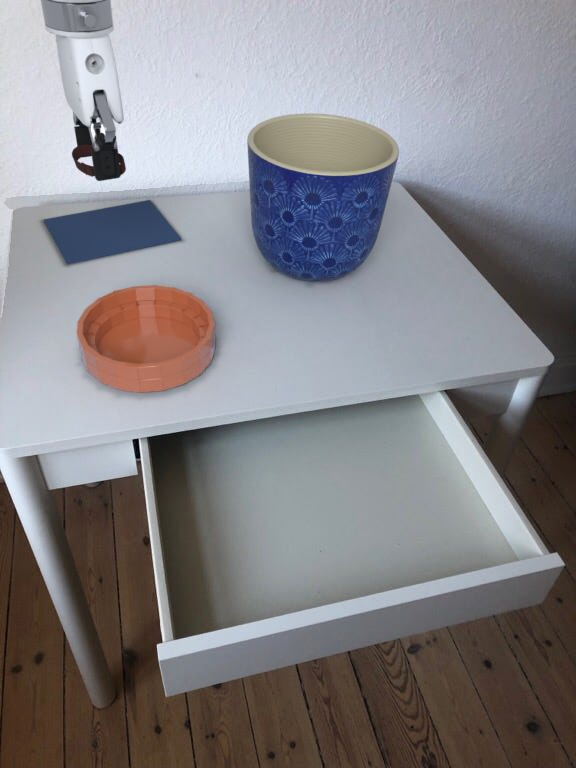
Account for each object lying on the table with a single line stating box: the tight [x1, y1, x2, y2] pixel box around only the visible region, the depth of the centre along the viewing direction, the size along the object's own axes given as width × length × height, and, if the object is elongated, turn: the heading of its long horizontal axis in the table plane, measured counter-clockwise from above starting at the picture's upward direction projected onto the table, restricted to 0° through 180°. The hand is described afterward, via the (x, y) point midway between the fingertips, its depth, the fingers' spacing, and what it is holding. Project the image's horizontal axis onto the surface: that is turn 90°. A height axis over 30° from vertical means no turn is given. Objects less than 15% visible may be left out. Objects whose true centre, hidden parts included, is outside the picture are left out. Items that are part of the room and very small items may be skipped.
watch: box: [71, 145, 127, 178], centre depth 83 cm, size 8×5×4 cm, turn 64°
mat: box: [43, 199, 182, 265], centre depth 102 cm, size 18×14×1 cm
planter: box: [246, 112, 400, 282], centre depth 93 cm, size 21×21×19 cm
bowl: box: [76, 284, 216, 393], centre depth 79 cm, size 16×16×4 cm
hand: (99, 165), depth 84 cm, fingers closed on watch, 6 cm apart
